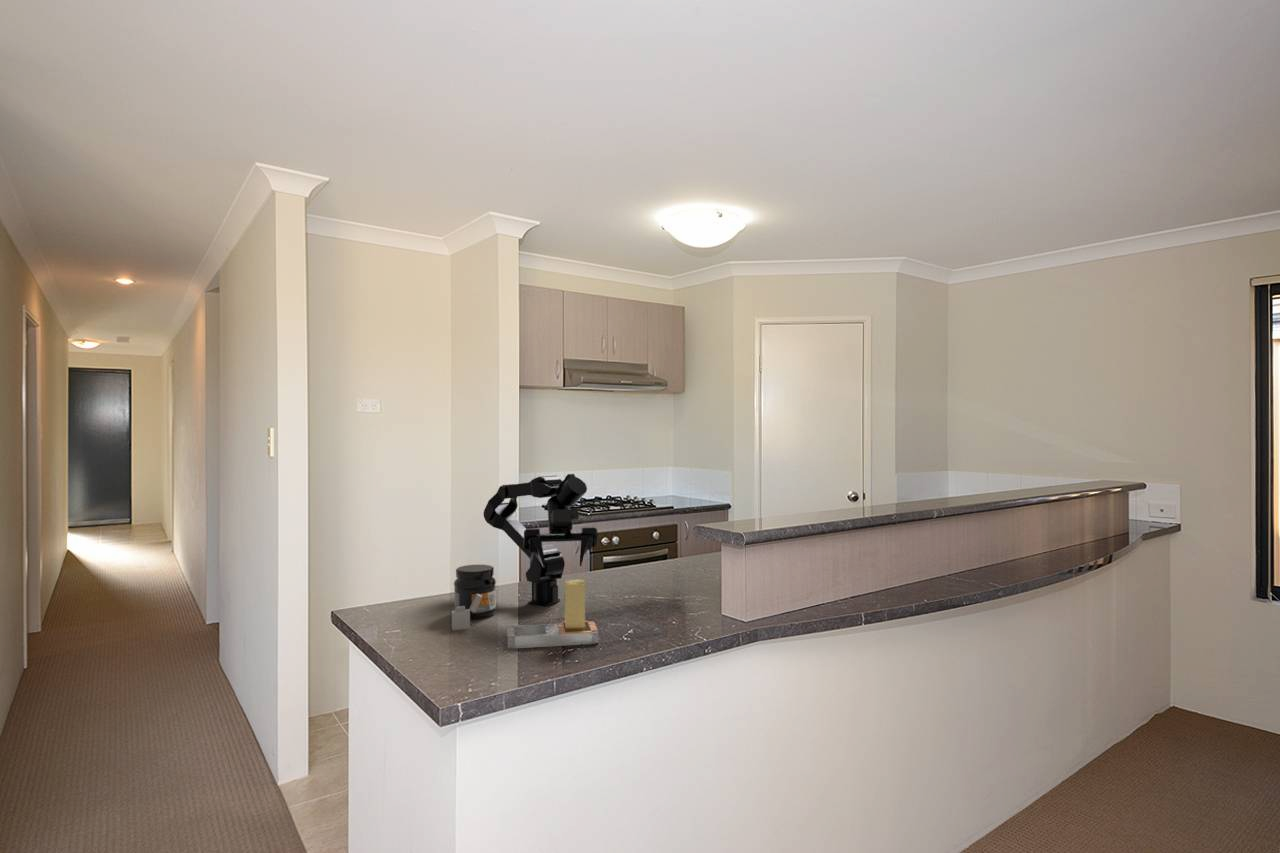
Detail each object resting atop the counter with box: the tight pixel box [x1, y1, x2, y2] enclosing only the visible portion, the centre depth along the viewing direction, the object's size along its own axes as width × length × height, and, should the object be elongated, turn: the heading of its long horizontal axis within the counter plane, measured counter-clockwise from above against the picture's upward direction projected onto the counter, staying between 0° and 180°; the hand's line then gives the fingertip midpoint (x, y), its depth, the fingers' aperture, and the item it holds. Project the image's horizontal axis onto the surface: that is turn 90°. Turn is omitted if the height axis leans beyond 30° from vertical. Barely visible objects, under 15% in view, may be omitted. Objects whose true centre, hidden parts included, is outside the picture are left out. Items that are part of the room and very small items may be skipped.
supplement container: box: [453, 563, 497, 620], centre depth 183 cm, size 10×10×12 cm
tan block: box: [564, 579, 586, 632], centre depth 163 cm, size 4×4×13 cm
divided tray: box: [506, 620, 599, 650], centre depth 162 cm, size 20×9×3 cm, turn 101°
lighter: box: [451, 594, 482, 631], centre depth 171 cm, size 7×2×8 cm, turn 110°
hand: (562, 566), depth 178 cm, fingers open, 9 cm apart
